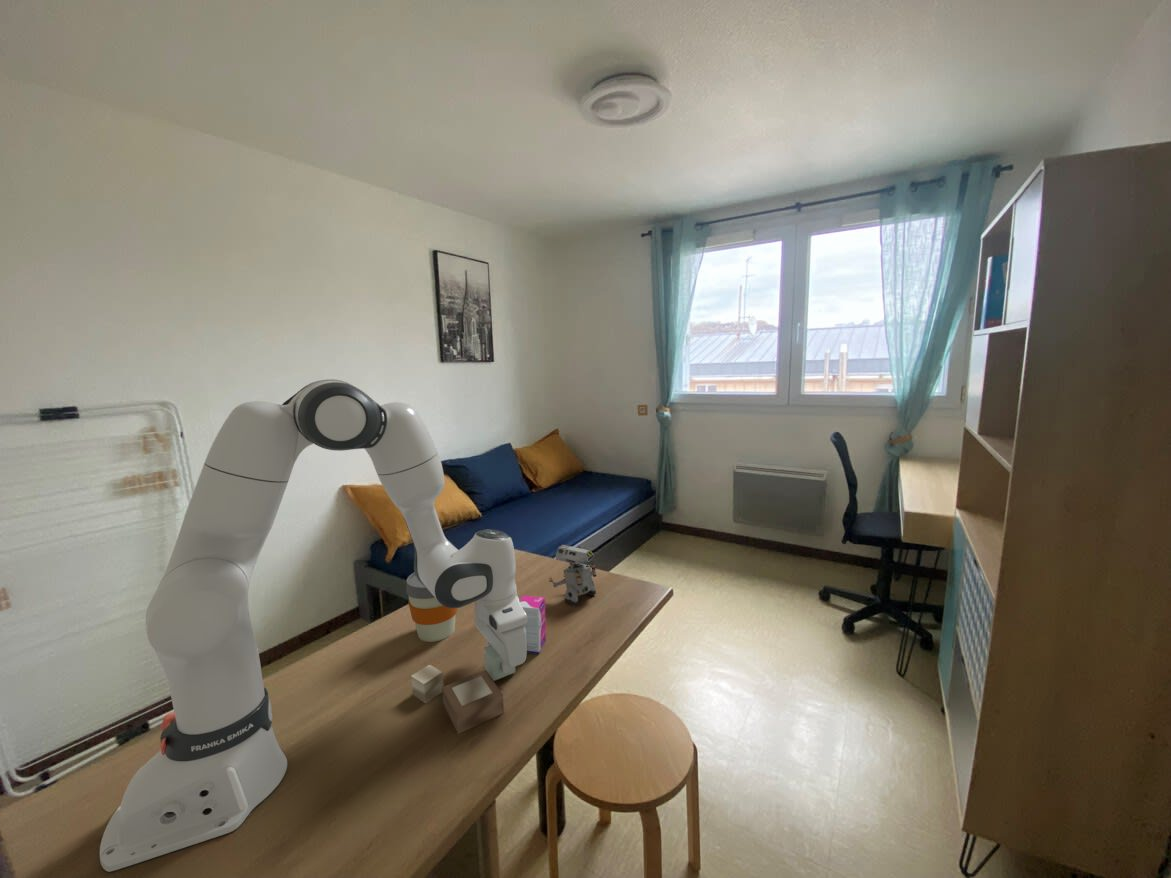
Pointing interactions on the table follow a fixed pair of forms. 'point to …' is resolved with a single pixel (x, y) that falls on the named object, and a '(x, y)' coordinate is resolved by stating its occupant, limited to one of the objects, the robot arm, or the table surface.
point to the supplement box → (534, 622)
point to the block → (427, 683)
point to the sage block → (494, 663)
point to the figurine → (576, 573)
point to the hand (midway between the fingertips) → (499, 663)
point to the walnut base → (472, 701)
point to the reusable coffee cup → (429, 612)
